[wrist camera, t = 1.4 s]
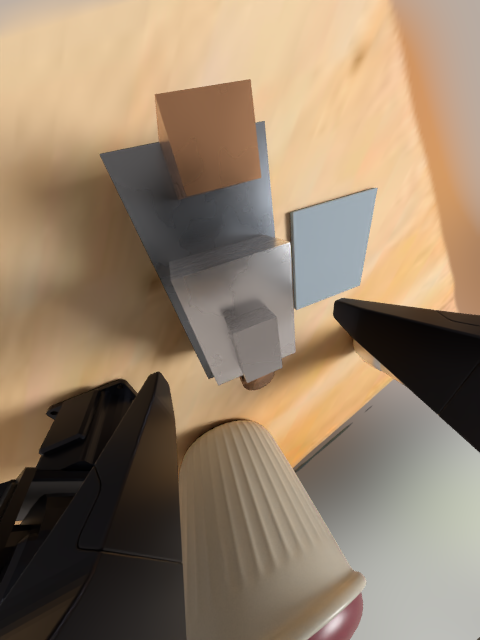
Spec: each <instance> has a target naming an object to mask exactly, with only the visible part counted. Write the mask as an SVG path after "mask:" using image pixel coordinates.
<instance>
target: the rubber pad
mask: <svg viewBox="0 0 480 640" xmlns="http://www.w3.org/2000/svg"><path fill="white" fill-rule="evenodd" d="M376 193H377V188H372V189H368V190H365V191H362V192H358V193H355V194H351V195H348V196H344V197H341V198H338V199H334V200H331V201H327V202H324V203H321V204H317V205H314V206H310V207H307V208H303V209H300V210H297V211H293V212H290V219H291V241H292V264H293V287H294V308H295V309H296V310H298V309H300V308H303V307H305V306H308V305H310V304H313V303H316V302H318V301H321V300H323V299H326V298H328V297H331V296H334V295H336V294H339V293H341V292H344V291H346V290H349V289H352V288H354V287H357V286H359V285H360V282H361V276H362V271H363V265H364V260H365V254H366V248H367V243H368V237H369V232H370V226H371V221H372V215H373V210H374V204H375V199H376Z"/></svg>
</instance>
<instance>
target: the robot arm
mask: <svg viewBox="0 0 480 640" xmlns="http://www.w3.org/2000/svg"><path fill="white" fill-rule="evenodd" d="M333 316H334V318H335V319H336V320H337V321H338V322H339V324H340V325H341V326H342V327H343V328H344V329H345V330H346V331H347V332H348V333H349V335H350V336H351V337H352V338H353V339H354V340H355V341H356V342H357V343H359V344H360V345H361V346H362V347H363V348H364V349H365V350H366V351H367V352H369V353H370V354H371V355H372V356H373V357H374V358H375V359H376V360H377V361H379V362H380V363H381V364H382V365H383V366H384V367H385V368H386V369H387V370H389V371H390V372H391V373H392V374H393V375H394V376H395V377H396V378H397V379H399V380H400V381H401V382H402V383H403V384H404V385H405V386H406V387H408V388H409V389H410V390H411V391H412V392H413V393H414V394H415V395H416V396H418V397H419V398H420V399H421V400H422V401H423V402H424V403H425V404H426V405H428V406H429V407H430V408H431V409H432V410H433V411H434V412H435V413H436V414H438V415H439V416H440V417H441V418H442V419H443V420H444V421H445V422H446V423H447V424H449V425H450V426H451V427H452V428H453V429H454V430H455V431H457V433H459V434H460V435H461V436H462V437H463V438H464V439H465V440H466V441H467V442H469V443H470V444H471V445H472V446H473V447H474V448H475V449H477V451H479V452H480V315H472V314H462V313H454V312H446V311H439V310H436V311H435V310H431V309H423V308H415V307H408V306H400V305H393V304H385V303H377V302H370V301H362V300H355V299H347V298H341V299H339V300H336V301H335V303H334V311H333ZM120 385H121V386H120ZM46 414H47V415H48V416H49V417H51V418H52V419H54V422H53V424H52V426H51V428H50V430H49V432H48V434H47V436H46V438H45V440H44V442H43V444H42V446H41V448H40V450H39V454H40V455H42V456H41V458H40V460H39V462H38V464H37V466H36V468H35V467H25V469H24V470H23V471H22V472H21V474H20V475H19V476H18V477H17V479H16V480H10V481H8V482H5V483H2V484H0V640H187V635H186V616H185V597H184V578H183V563H182V542H181V522H180V503H179V484H178V465H177V445H176V426H175V416H174V410H173V405H172V399H171V393H170V388H169V384H168V382H167V381H166V379H165V378H164V377H163V375H162V374H161V373H160V372H156V373H153V374H151V375H149V376H148V378H147V380H146V381H145V383H144V385H143V386H142V388H141V389H140V391H139V393H137V392H136V391H135V390H134V389H133V388H132V387H131V386H130V384H129V383H128V382H127V381H126V380H117V381H115V382H112V383H110V384H107V385H104V386H102V387H99V388H97V389H94V390H92V391H89V392H86V393H84V394H81V395H79V396H76V397H74V398H71V399H68V400H66V401H63V402H61V403H58V404H56V405H53V406H51V407H50V408H49V409H48V411H47V413H46ZM22 520H23V521H22ZM15 521H22V523H21V524H20V525H14V524H15ZM477 640H480V637H479V638H478V639H477Z"/></svg>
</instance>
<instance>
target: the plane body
mask: <svg viewBox="0 0 480 640" xmlns="http://www.w3.org/2000/svg"><path fill="white" fill-rule="evenodd" d="M155 102H156V114H157V125H158V137H159V142H157V143H152V144H147V145H142V146H137V147H132V148H127V149H122V150H117V151H112V152H107V153H102V154H100V156H101V158H102V161H103V163H104V165H105V167H106V169H107V171H108V173H109V175H110V177H111V179H112V181H113V183H114V185H115V187H116V189H117V191H118V193H119V196H120V198H121V200H122V202H123V204H124V206H125V208H126V210H127V212H128V214H129V216H130V218H131V220H132V222H133V224H134V226H135V229H136V231H137V233H138V235H139V237H140V239H141V241H142V243H143V245H144V247H145V249H146V251H147V253H148V255H149V257H150V259H151V261H152V264H153V266H154V268H155V270H156V272H157V274H158V276H159V278H160V280H161V282H162V284H163V286H164V288H165V290H166V292H167V294H168V296H169V299H170V301H171V303H172V305H173V307H174V309H175V311H176V313H177V315H178V317H179V319H180V321H181V323H182V325H183V327H184V329H185V331H186V334H187V336H188V338H189V340H190V342H191V344H192V346H193V348H194V350H195V352H196V354H197V356H198V358H199V360H200V362H201V364H202V367H203V369H204V371H205V373H206V375H207V377H208V379H210V378H213V377H214V375H213V373H212V371H211V369H210V366H209V364H208V362H207V360H206V358H205V355H204V353H203V351H202V349H201V346H200V344H199V342H198V340H197V338H196V335H195V333H194V331H193V329H192V327H191V324H190V322H189V320H188V318H187V316H186V313H185V311H184V309H183V307H182V304H181V302H180V300H179V298H178V296H177V293H176V291H175V289H174V287H173V285H172V282H171V278H170V266H169V262H171V261H175V260H178V259H181V258H184V257H188V256H191V255H194V254H197V253H201V252H204V251H207V250H211V249H214V248H217V247H220V246H224V245H227V244H230V243H234V242H237V241H240V240H243V239H247V238H250V237H253V236H256V235H260V234H264V235H268V236H271V237H275V231H274V220H273V209H272V198H271V187H270V176H269V165H268V154H267V143H266V132H265V121H262V122H257V123H255V116H254V107H253V98H252V89H251V80H250V79H249V80H243V81H237V82H230V83H224V84H218V85H211V86H205V87H199V88H192V89H186V90H180V91H173V92H167V93H161V94H155ZM273 376H274V372H271V373H269V374H267V375H265V376H262V377H260V378H258V379H255V380H253V381H251V382H249V383H247V382H246V380H245V377H244V375H242V376H239V377H240V379H241V381H242V384H243V386H244V387H245V388H246V389H248V390H257V389H260V388H262V387H264V386H266V385H267V384H268V383H269V382H270V381H271V380H272V378H273Z"/></svg>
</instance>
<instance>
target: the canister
mask: <svg viewBox="0 0 480 640" xmlns="http://www.w3.org/2000/svg"><path fill="white" fill-rule="evenodd" d="M178 484H179V503H180V522H181V542H182V563H183V578H184V597H185V616H186V635H187V640H350V638H351V637H352V635H353V633H354V632H355V630H356V629H357V627H358V625H359V622H360V619H361V616H362V611H363V600H362V594H361V591H362V590H363V589H364V587H365V585H366V579H365V577H364V576H363V575H362V574H361V573H360V572H355V571H354V570H352V568H351V567H350V565H349V563H348V561H347V560H346V558H345V556H344V555H343V553H342V551H341V549H340V548H339V546H338V544H337V543H336V541H335V539H334V537H333V536H332V534H331V533H330V531H329V529H328V527H327V526H326V524H325V522H324V521H323V519H322V517H321V515H320V514H319V512H318V511H317V509H316V507H315V506H314V504H313V502H312V500H311V499H310V497H309V496H308V494H307V492H306V490H305V489H304V487H303V485H302V484H301V482H300V480H299V479H298V477H297V475H296V474H295V472H294V470H293V469H292V467H291V465H290V464H289V462H288V461H287V459H286V457H285V456H284V454H283V453H282V451H281V449H280V448H279V446H278V445H277V443H276V441H275V440H274V438H273V437H272V435H271V434H270V433H269V432H268V431H267V430H266V429H265V428H264V427H263V426H262V425H260V424H258V423H256V422H253V421H247V420H243V421H241V420H239V421H233V422H229V423H226V424H223V425H220V426H218V427H214V428H213V429H212V430H209V431H208V432H207V433H204V434H203V435H202V436H201V437H199V438H197V440H196V441H195V442H193V443H192V445H191V446H190V447H189V449H188V450H187V452H186V454H185V456H184V458H183V461H182V464H181V468H180V473H179V483H178Z"/></svg>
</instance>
